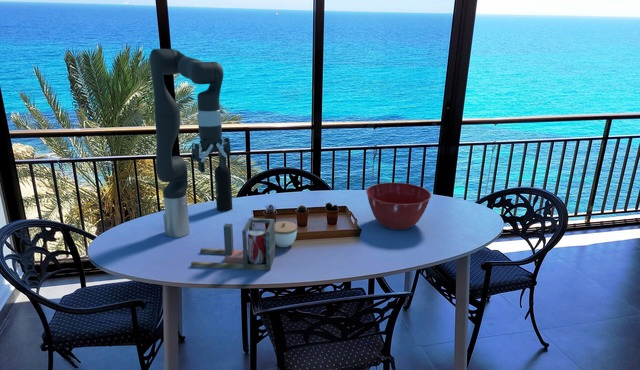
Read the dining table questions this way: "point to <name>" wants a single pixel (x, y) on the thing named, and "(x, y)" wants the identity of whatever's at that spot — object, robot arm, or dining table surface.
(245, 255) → the grey bar frame
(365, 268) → the dining table surface
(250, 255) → the soda can
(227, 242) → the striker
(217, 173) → the wine bottle
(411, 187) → the mixing bowl
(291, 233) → the lidded jar
